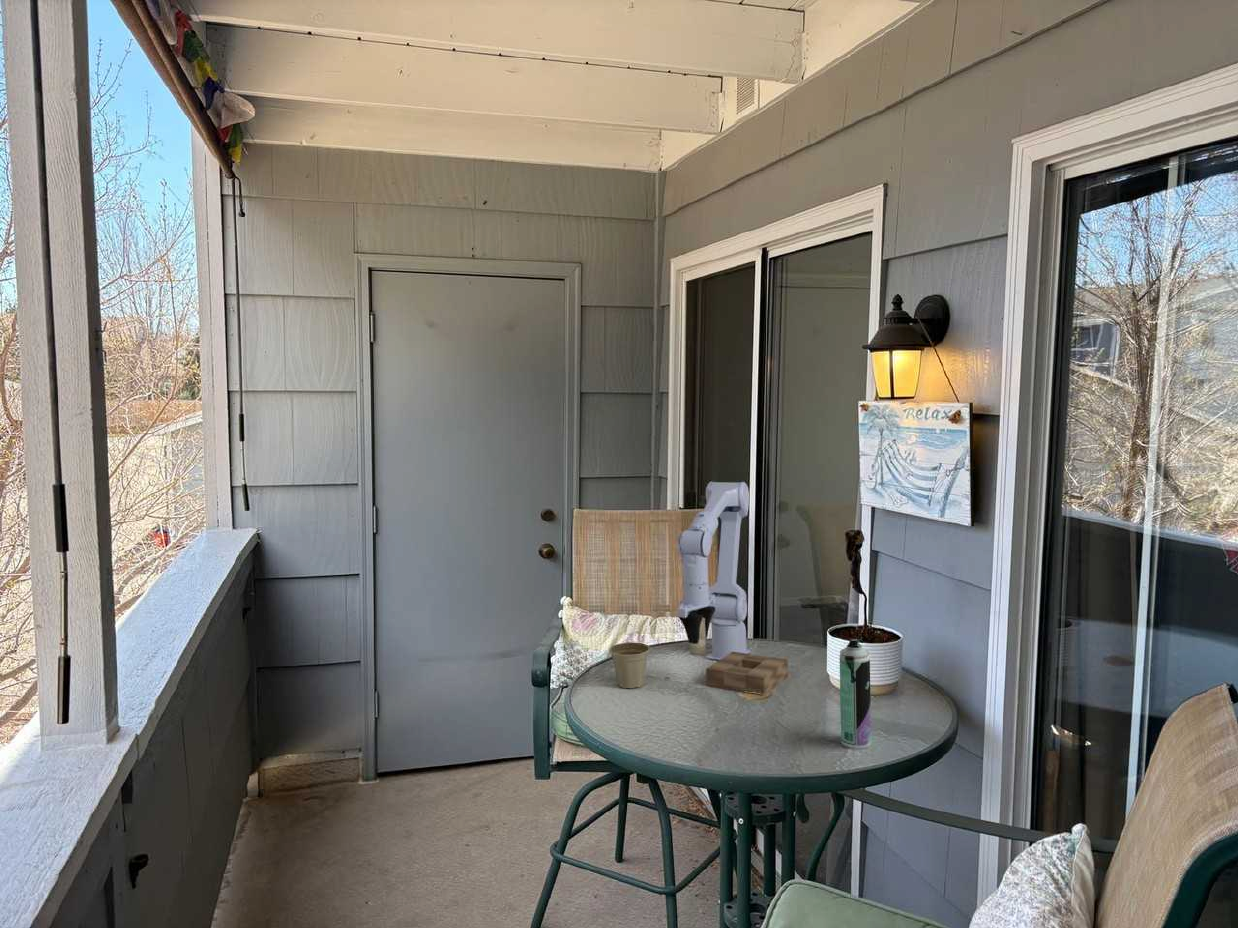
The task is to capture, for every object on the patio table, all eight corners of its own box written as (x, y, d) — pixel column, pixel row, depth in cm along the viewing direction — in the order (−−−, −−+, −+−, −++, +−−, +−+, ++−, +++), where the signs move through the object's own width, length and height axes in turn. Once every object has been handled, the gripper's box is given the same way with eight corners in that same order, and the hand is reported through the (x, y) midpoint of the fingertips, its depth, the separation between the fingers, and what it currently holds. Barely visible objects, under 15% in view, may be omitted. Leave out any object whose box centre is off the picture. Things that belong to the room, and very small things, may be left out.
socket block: (733, 667, 204) (732, 651, 204) (787, 676, 197) (787, 659, 196) (706, 685, 193) (706, 668, 192) (764, 695, 185) (763, 677, 185)
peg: (695, 649, 197) (693, 616, 197) (708, 651, 195) (707, 617, 195) (687, 654, 194) (686, 620, 194) (701, 656, 192) (700, 621, 192)
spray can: (872, 749, 156) (870, 644, 154) (841, 748, 157) (839, 643, 155) (869, 737, 161) (868, 635, 159) (840, 736, 162) (838, 634, 161)
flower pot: (651, 691, 191) (650, 653, 190) (610, 692, 191) (608, 655, 190) (651, 677, 200) (649, 641, 199) (611, 678, 200) (609, 642, 200)
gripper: (695, 574, 202) (697, 630, 203) (664, 587, 190) (667, 646, 191) (722, 577, 198) (723, 633, 199) (692, 590, 186) (694, 651, 187)
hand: (697, 640), depth 195 cm, fingers closed on peg, 4 cm apart
